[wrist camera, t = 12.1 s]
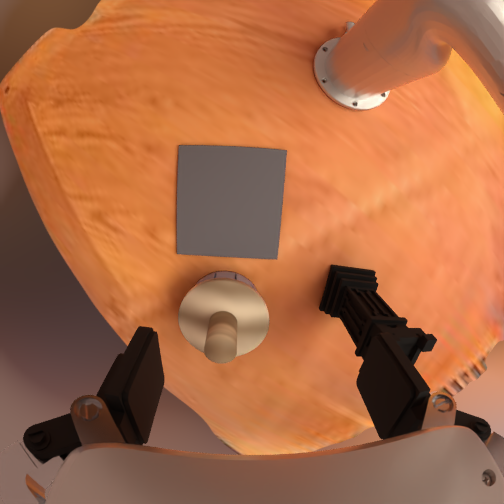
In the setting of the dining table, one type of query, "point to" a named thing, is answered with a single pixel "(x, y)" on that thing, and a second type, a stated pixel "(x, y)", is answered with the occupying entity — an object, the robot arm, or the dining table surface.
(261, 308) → the lid
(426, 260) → the dining table surface
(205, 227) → the rubber mat
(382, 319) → the chess piece
